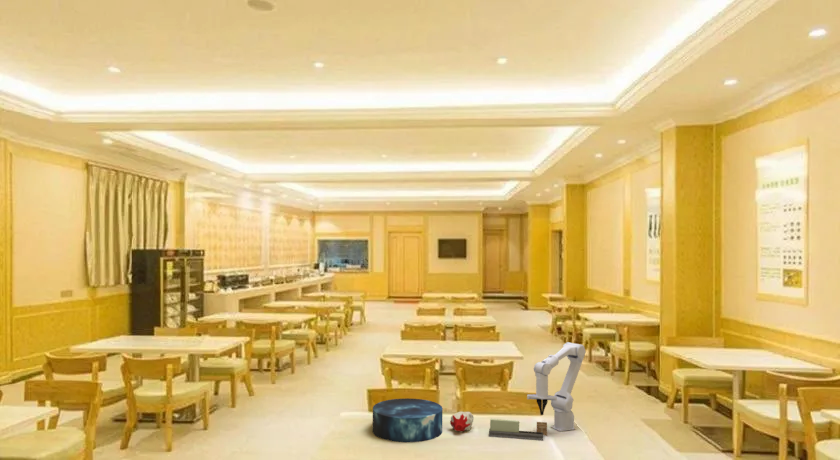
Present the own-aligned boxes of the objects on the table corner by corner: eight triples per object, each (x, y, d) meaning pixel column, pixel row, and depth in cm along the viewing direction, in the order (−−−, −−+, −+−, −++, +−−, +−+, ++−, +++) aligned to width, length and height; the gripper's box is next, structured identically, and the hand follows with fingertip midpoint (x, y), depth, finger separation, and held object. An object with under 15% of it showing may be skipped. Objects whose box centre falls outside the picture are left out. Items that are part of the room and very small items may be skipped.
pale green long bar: (519, 433, 281) (519, 420, 281) (519, 434, 279) (519, 421, 279) (490, 430, 284) (490, 418, 284) (490, 432, 282) (490, 419, 282)
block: (536, 431, 288) (536, 421, 288) (546, 432, 287) (546, 422, 287) (536, 435, 283) (536, 424, 283) (547, 435, 282) (547, 425, 282)
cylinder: (363, 424, 297) (363, 402, 297) (425, 417, 310) (425, 395, 311) (386, 447, 264) (386, 421, 265) (454, 437, 278) (454, 413, 278)
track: (542, 435, 281) (542, 431, 281) (543, 440, 274) (543, 435, 274) (489, 431, 286) (489, 427, 286) (488, 436, 280) (488, 431, 280)
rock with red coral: (473, 425, 294) (470, 439, 280) (452, 423, 296) (447, 436, 282) (473, 408, 293) (470, 421, 279) (452, 407, 296) (447, 419, 281)
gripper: (527, 387, 283) (527, 415, 283) (557, 389, 280) (557, 417, 280) (527, 384, 290) (527, 411, 290) (556, 386, 287) (556, 413, 287)
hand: (541, 414), depth 285 cm, fingers closed
